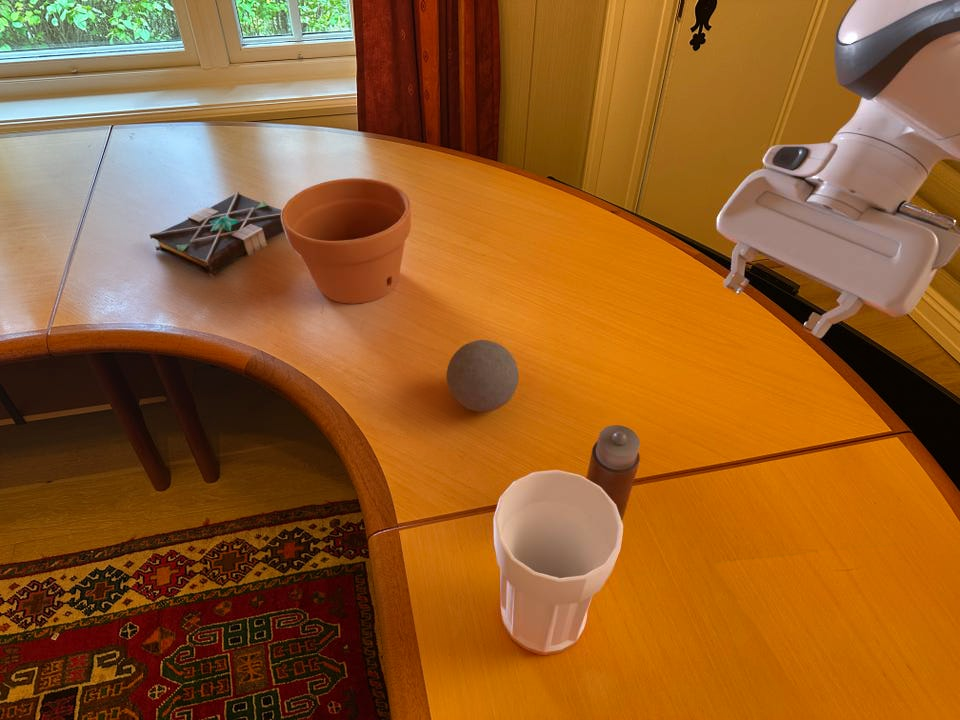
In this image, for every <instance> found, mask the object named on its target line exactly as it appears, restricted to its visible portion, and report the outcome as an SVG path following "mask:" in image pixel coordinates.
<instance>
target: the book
mask: <svg viewBox="0 0 960 720" xmlns="http://www.w3.org/2000/svg"><path fill="white" fill-rule="evenodd" d="M281 211H282V209H280V208H277V207H274V206H271V205H269V204H268V203H267V202H266V201H265V200H264V199H263V200H261V202H260V201H258V200H255V199H252V198H250V197H248V196H245V195H243V194H241V193H240V191H238V190H237V191H236V192H235V193H234V194H233V195H231V196H229V197H227V198H225V199H224V200H221V201H220V202H218V203H216V204H214V205H212V206H210V207H209V206H206V207H204V208H202V209H200V210H199V211H196V212H194V213H193V214H189V215H188V216H187V219H185V220H184V221H182V222H179V223H178V224H175V225H173V226H171V227H169V228H166V229H164V230H162V231H160V232H155V233H149V238H150V239H154V240H155V241H157V242H158V245H159V246H158V245H156V246H155V250H156V251H160V252H162V253H165V254H167V255H170V256H172V257H174V258H176V259H178V260H180V261H182V262H184V263H186V264H189V265H190V266H193V267H194V268H196V269H198V270H200V271H202V272H203V273H206V274H207V275H209V277H210V279H213V278H214V276H215V273H216V272H218V271H219V270H221V269H222V268H223V267H225V266H227V265H228V264H230V263H231V262H233V261H234V260H236V259H238V258H239V257H241V256H243V255H244V256H246V257H250V256H252V255H254V253H257V252H258V251H260V250H261V249H264V248H265V247H267V245H268V244H267V241H269V240H271V239H272V238H274V237H276V236H278V235H280V234H281V233H284V232H285V231H284V228H283V225H282V222H281Z"/></svg>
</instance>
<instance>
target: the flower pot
mask: <svg viewBox="0 0 960 720" xmlns="http://www.w3.org/2000/svg"><path fill="white" fill-rule="evenodd" d="M411 209H412V205H411V201H410V198H409V197H408V195H407V194H406V193H405V192H404V190H402V189H401V188H399V187H398V186H396V185H394V184H392V183H390V182H386V181H382V180H378V179H375V178H374V179H373V178H365V177H350V178H339V179H332V180H328V181H324V182H320V183H317V184H314V185H311V186H309V187H306V188H304V189H303V190H301V191H299V192H297V193H296V194H294V195H293V196H292V197H291V198H290V199H288V200H287V201H286V203H285V204H284V205H283V207H282V209H281V210H282V211H281V222H282V225H283V228H284V231H283V232H284V234H285V237H286V239H287V242H288V244H289V246H290V248H291V249H292V250H293V251H294V252H295V253H296V254H298V255H299V256H300V258H301V261H302V262H303V263H304V265H305V267H306V268H307V271H308V272H309V274H310V276H311V279H312V280H313V282H314V283H315V285H316V287H317V288H318V290H319V291H320V292H321V294H322V295H324V296H325V297H326V298H328V299H330V300H332V301H334V302H337V303H342V304H348V305H350V304H353V305H354V304H355V305H357V304H364V303H365V304H366V303H371V302H373V301H376V300H379V299H381V298H382V297H385V296H386V295H388V294H389V293H390V292H391V291H393V290H394V288H395V287H396V285H397V283H398V281H399V277H400V274H401V273H400V272H401V268H402V267H401V266H402V261H403V257H404V250H405V245H406V240H407V238H408V237H409V236H410V232H411V229H412V223H411V222H412V210H411Z"/></svg>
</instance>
